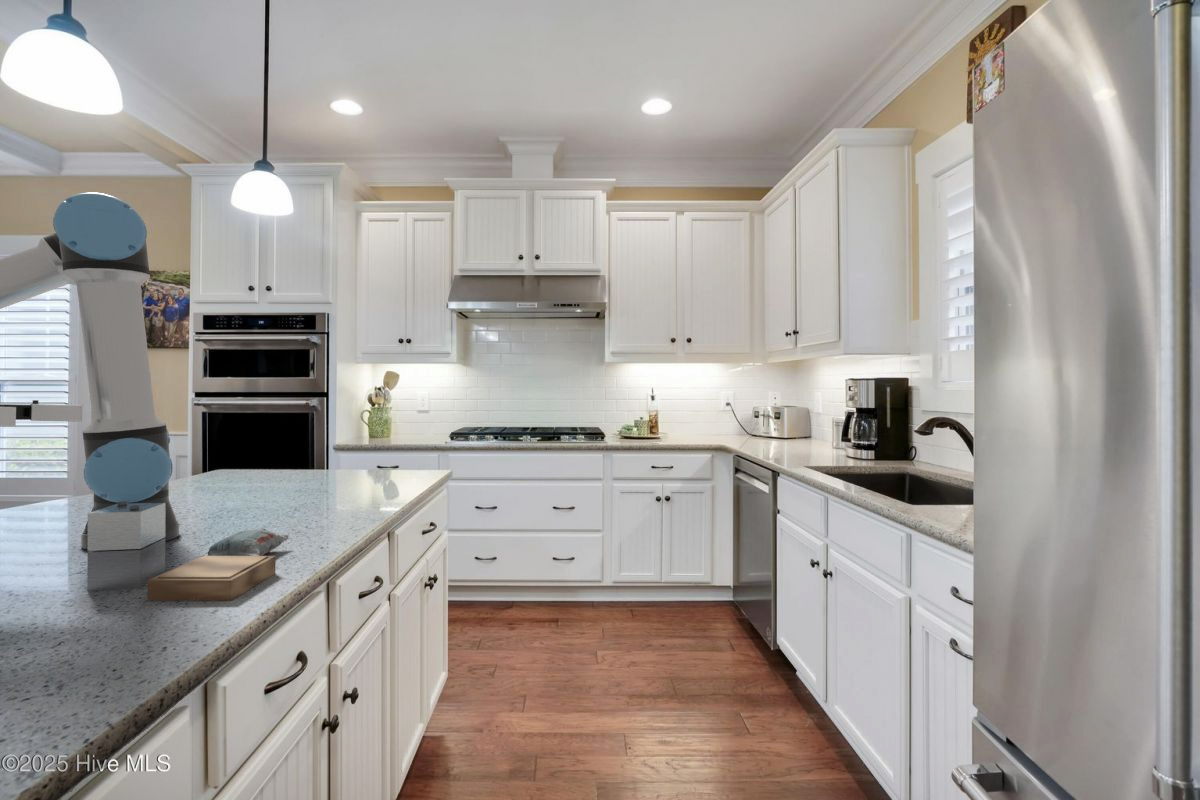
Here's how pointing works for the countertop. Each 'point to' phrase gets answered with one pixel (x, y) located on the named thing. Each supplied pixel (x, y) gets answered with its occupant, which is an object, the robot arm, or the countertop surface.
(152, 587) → the stand
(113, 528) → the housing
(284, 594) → the countertop surface
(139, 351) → the robot arm
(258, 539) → the packaged food
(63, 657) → the countertop surface
